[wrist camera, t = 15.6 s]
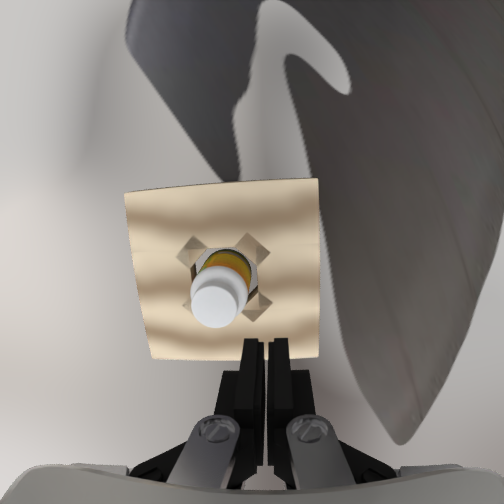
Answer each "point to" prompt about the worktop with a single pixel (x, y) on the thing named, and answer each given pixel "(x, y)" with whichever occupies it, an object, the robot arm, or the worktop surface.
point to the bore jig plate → (225, 236)
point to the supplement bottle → (221, 288)
